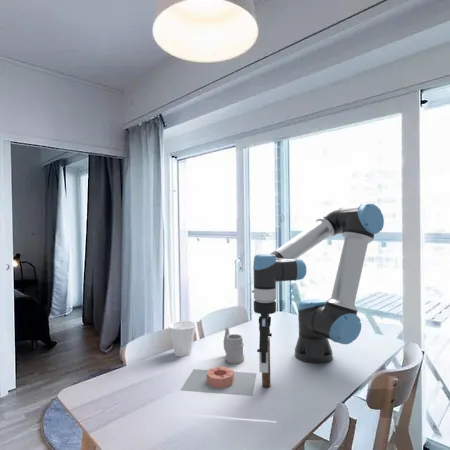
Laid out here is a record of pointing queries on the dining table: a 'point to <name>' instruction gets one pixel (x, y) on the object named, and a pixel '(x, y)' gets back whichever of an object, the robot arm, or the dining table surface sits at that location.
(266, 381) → the brown wooden bar
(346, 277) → the robot arm
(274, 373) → the dining table surface
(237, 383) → the mat
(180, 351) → the cup
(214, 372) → the bead
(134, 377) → the dining table surface
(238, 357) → the mug
